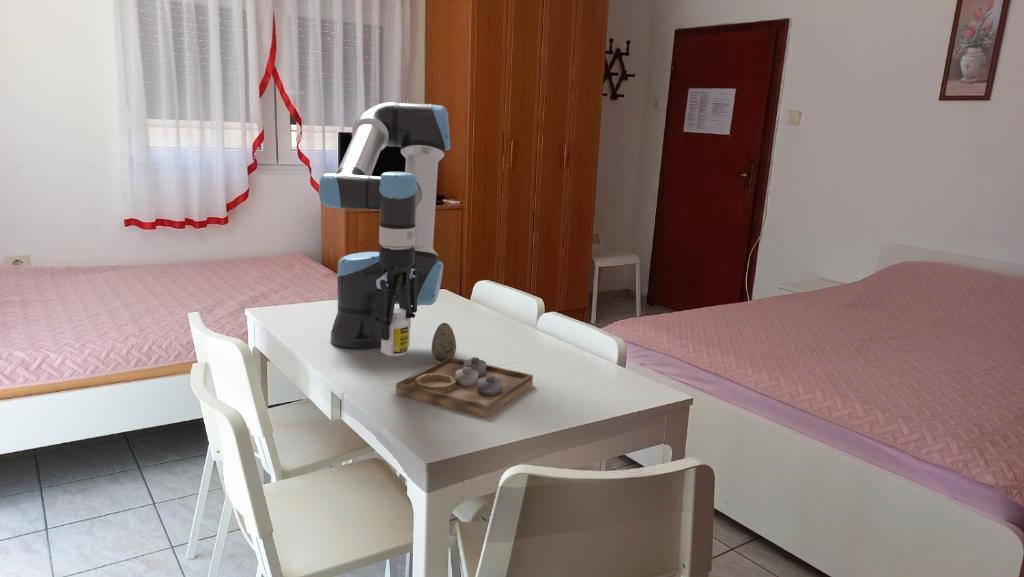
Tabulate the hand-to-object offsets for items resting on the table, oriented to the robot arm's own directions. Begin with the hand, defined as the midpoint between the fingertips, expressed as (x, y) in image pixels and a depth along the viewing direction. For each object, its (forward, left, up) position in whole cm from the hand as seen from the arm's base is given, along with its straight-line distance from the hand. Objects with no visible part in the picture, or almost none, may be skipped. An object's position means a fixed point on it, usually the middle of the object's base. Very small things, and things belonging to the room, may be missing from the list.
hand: (395, 348), depth 155 cm
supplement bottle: (0, 0, -1) cm, 1 cm away
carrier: (+15, +5, -8) cm, 18 cm away
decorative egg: (+1, +18, -8) cm, 20 cm away
